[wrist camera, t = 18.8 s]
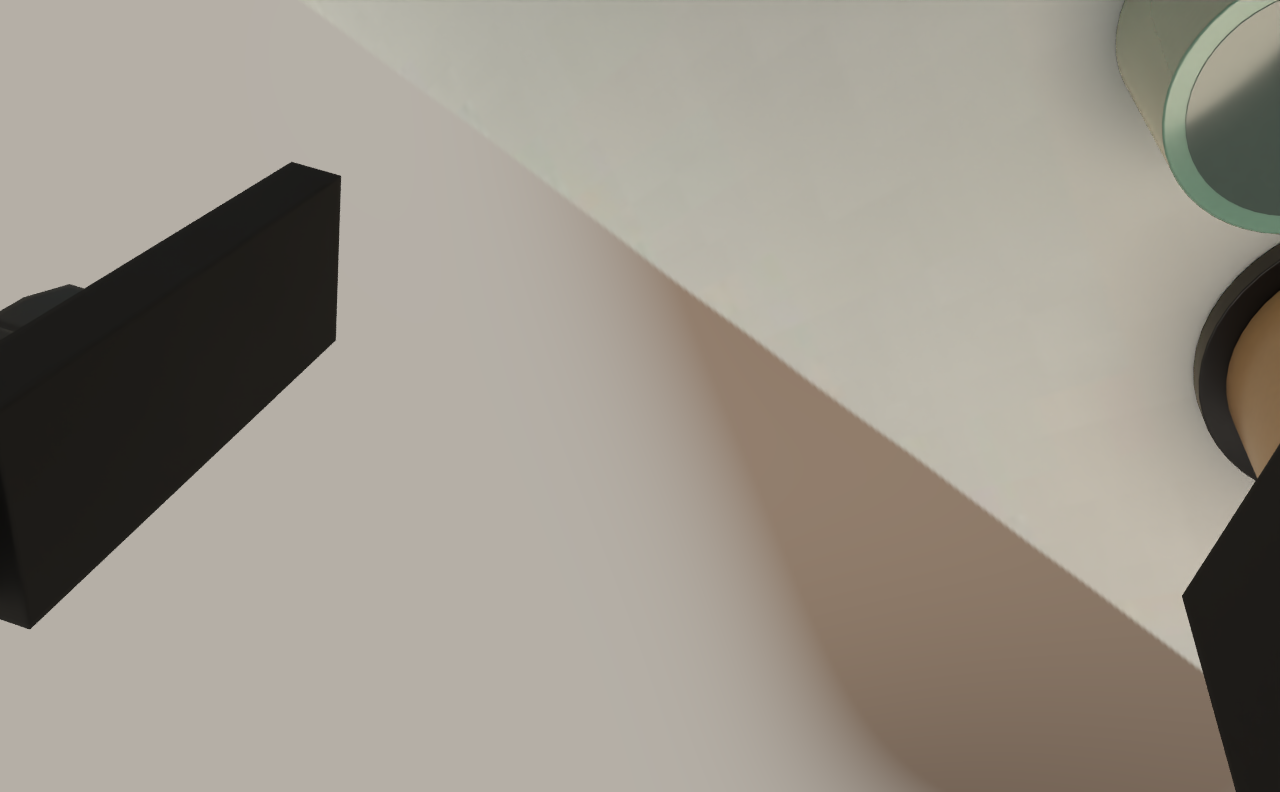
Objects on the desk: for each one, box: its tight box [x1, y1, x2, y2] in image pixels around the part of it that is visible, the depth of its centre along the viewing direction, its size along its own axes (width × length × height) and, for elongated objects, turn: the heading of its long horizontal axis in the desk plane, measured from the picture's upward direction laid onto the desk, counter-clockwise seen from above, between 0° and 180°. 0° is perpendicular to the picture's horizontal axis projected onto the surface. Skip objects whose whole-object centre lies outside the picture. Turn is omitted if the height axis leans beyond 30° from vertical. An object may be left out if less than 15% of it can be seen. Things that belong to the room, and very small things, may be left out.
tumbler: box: [1116, 0, 1280, 234], centre depth 34 cm, size 8×8×11 cm
